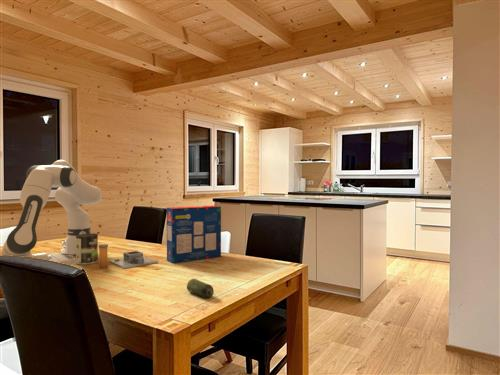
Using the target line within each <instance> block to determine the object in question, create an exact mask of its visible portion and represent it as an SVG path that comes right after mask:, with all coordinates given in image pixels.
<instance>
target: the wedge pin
mask: <svg viewBox="0 0 500 375" xmlns="http://www.w3.org/2000/svg"><path fill="white" fill-rule="evenodd" d="M108 247H109V244H108V243H104V244H98V265H99V266H98V267H99V269H101V270H103V269H107V268H108Z"/></svg>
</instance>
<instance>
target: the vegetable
mask: <svg viewBox="0 0 500 375" xmlns="http://www.w3.org/2000/svg"><path fill="white" fill-rule="evenodd" d="M186 289H187V291H188V292H190V293H193V294H195V295H197V296H199V297H202V298H203V299H204V298H205V299H210V298H212V297H213V296H214V293H215V292H214V288H213V286H212V285H211V284H208V283H206V282H203V281H201V280H198V279H197V278H192V279H190V280H188V282H187V284H186Z"/></svg>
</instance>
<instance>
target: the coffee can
mask: <svg viewBox="0 0 500 375" xmlns="http://www.w3.org/2000/svg"><path fill="white" fill-rule="evenodd" d="M98 238H99V235H98V233H90V234H80V235H76V254H75V255H76V256H75V258H79V259H80V262H79V263H75V264H76V265H92V264H96V263H99V244H98V243H99V241H98Z"/></svg>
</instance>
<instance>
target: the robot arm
mask: <svg viewBox="0 0 500 375" xmlns="http://www.w3.org/2000/svg"><path fill="white" fill-rule="evenodd" d="M52 188H56V190H55V193H54V198H55V201H56V202H57V203H58V204H60V206H62V207H63V209H64V210H65V212H66V214H67V220H68V221H67V222H68V229H67V231H66V232H67V233H66V234H67V236H66V237H65V239H64V241H62V242H61V247H62V248H60V250H59V251H60V253H59V252H37V253H31V250H33V249H34V248H35V247H36V245H37V242H38V241H37V240H38V236H37V232H36V227H37V223H38V220H39V217H40V212H41V211H42V209H43V208H44V207H45V206H46V204H47V202H48V200H49V198H50V195H51V192H52ZM102 198H103V192H102V189H101V188H100V187H99V186H95V185H92V184H90V183H89V182H87V181H85V180H83V179H82V178H81V177H80V175H79V174H78V172H77V170H76V169H75V168H74V166H72V164H71V163H70V162H68V161H66V160H64V159H58V160H56V161H55V160H54V162H53V163H52V164H46V165H44V164H43V165H40V164H36V165H32V166H30V167H29V168H28V169H27V171H26V179H25V182H24V184H23V186H22V188H21V192H20V196H19V203H20V205H21V206H22V211H21V214H20V217H19V219H18V220H19V221H18V222H17V225H16V227H14V228H13V230H11V232H10V233H9V234H8V236H7V239H6V240H5V242H4V244H3V247H2V249H1V252H0V255H13V256H24V257H33V258H39V259H45V260H51V261H56V262H60V263H64V264H68V265H75V264H76V263H79V262H80V259H79V258H76V257H75V256H74V255H76V235H80V234H92V233H91V231H92V229H91V227H90V226H91V225H90V223H91V222H90V218H91V217H90V214H89V213H88V211H86V210H83V209H82V208H81V206H80V205H82V206H83V205H85V206H86V205H87V206H88V205H95V204H98V203H100V202H101V201H102Z"/></svg>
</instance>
